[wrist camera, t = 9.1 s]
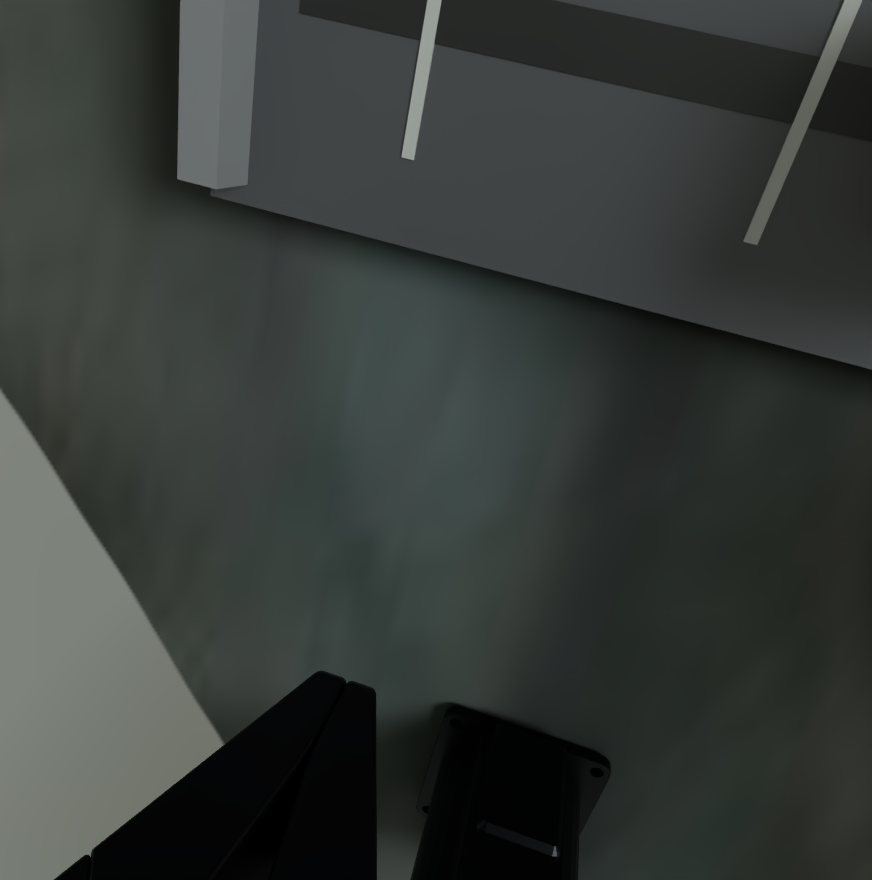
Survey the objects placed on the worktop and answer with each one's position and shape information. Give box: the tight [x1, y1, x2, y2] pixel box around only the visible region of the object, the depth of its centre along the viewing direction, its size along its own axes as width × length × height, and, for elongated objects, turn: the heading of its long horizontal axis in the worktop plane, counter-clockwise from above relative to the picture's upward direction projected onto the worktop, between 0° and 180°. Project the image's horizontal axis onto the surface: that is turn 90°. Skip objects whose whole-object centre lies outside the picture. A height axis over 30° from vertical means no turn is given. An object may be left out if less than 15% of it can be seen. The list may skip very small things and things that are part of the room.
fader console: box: [177, 0, 872, 369], centre depth 13 cm, size 10×26×4 cm, turn 78°
